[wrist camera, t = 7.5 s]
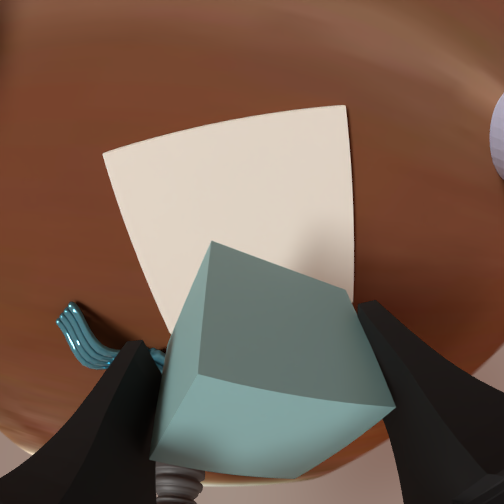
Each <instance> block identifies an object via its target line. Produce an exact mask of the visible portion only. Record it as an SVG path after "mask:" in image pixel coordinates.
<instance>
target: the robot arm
mask: <svg viewBox="0 0 504 504" xmlns="http://www.w3.org/2000/svg"><path fill="white" fill-rule="evenodd" d="M490 149H491V156H492V160H493V163H494V166H495V168H496V170H497V172H498V174H499V175H500V177H501V178H502V179H503V180H504V93H503V95H502V96H501V97H500V98H499V100H498V102H497V104H496V106H495V109H494V112H493V115H492V120H491V126H490ZM357 317H358V319H359V321H360V323H361V326H362V328H363V330H364V332H365V334H366V337H367V339H368V341H369V343H370V345H371V347H372V350H373V352H374V354H375V357H376V359H377V361H378V364H379V366H380V369H381V371H382V373H383V376H384V378H385V381H386V383H387V386H388V388H389V391H390V393H391V396H392V398H393V401H394V403H395V406H396V408H395V409H393V410H392V411H391V412H390V413H389V414H387V415H386V416H385V417H384V418H383V421H384V423H385V426H386V429H387V432H388V434H389V438H390V442H391V445H392V449H393V453H394V457H395V461H396V465H397V470H398V474H399V479H400V485H401V490H402V496H403V502H404V504H504V393H503V392H502V391H499V390H497V389H495V388H493V387H492V386H489V385H488V384H486V383H484V382H482V381H480V380H478V379H476V378H475V377H473V376H471V375H469V374H468V373H466V372H465V371H463V370H462V369H460V368H458V367H457V366H455V365H454V364H452V363H451V362H449V361H448V360H447V359H445V358H444V357H443V356H441V355H440V354H439V353H437V352H436V351H435V350H433V349H432V348H431V347H429V346H428V345H427V344H426V343H424V342H423V341H422V340H421V339H420V338H418V337H417V336H416V335H415V334H414V333H412V332H411V331H410V330H409V329H408V328H407V327H405V326H404V325H403V324H402V323H401V322H400V321H399V320H397V319H396V318H395V317H394V316H393V315H392V314H391V313H390V312H389V311H387V310H386V309H385V308H384V307H383V306H382V305H381V304H380V303H378V302H377V301H376V300H373V301H369V302H365V303H361V304H358V313H357ZM161 378H162V373H161V371H160V370H159V368H158V366H157V365H156V363H155V361H154V359H153V358H152V356H151V354H150V352H149V351H148V349H147V347H146V345H145V343H144V342H143V340H137V341H127V342H126V343H125V345H124V346H123V347H122V349H121V350H120V352H119V353H118V354H117V356H116V357H115V359H114V360H113V361H112V363H111V364H110V366H109V367H108V369H107V370H106V371H105V373H104V374H103V376H102V377H101V378H100V380H99V381H98V383H97V384H96V386H95V387H94V388H93V390H92V391H91V392H90V394H89V395H88V396H87V397H86V399H85V400H84V401H83V403H82V404H81V405H80V407H79V408H78V409H77V411H76V412H75V413H74V414H73V415H72V417H71V418H70V419H69V420H68V421H67V422H66V423H65V425H64V426H63V427H62V428H61V429H60V430H59V431H58V432H57V433H56V434H55V435H54V436H53V437H52V438H51V439H50V440H49V441H48V442H47V443H46V444H45V445H44V446H43V447H41V448H40V449H39V450H38V451H37V452H36V453H35V454H34V455H32V456H31V457H30V458H29V459H27V460H26V461H25V462H23V463H22V464H21V465H20V466H18V467H17V468H15V469H14V470H12V471H11V472H9V473H8V474H6V475H4V476H3V477H1V478H0V504H157V501H156V461H153V460H149V456H150V448H151V441H152V434H153V427H154V420H155V414H156V407H157V401H158V396H159V390H160V384H161Z"/></svg>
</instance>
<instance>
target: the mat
mask: <svg viewBox="0 0 504 504" xmlns="http://www.w3.org/2000/svg"><path fill="white" fill-rule="evenodd" d="M103 158H104V161H105V164H106V168H107V171H108V174H109V177H110V181H111V184H112V187H113V190H114V193H115V196H116V199H117V202H118V205H119V208H120V211H121V214H122V217H123V219H124V222H125V225H126V228H127V230H128V233H129V236H130V239H131V241H132V244H133V247H134V249H135V252H136V254H137V257H138V260H139V262H140V265H141V267H142V270H143V272H144V275H145V277H146V279H147V282H148V284H149V287H150V289H151V291H152V294H153V296H154V298H155V301H156V303H157V305H158V308H159V310H160V312H161V314H162V317H163V319H164V321H165V323H166V325H167V328H168V330H169V332H170V334H172V332H173V330H174V327H175V325H176V322H177V320H178V318H179V315H180V313H181V310H182V308H183V305H184V303H185V301H186V298H187V296H188V294H189V291H190V289H191V286H192V284H193V282H194V279H195V277H196V275H197V272H198V270H199V268H200V266H201V263H202V261H203V259H204V256H205V254H206V252H207V249H208V247H209V245H210V243H211V241H214V242H217V243H220V244H222V245H225V246H228V247H230V248H233V249H236V250H238V251H241V252H244V253H247V254H249V255H252V256H255V257H257V258H260V259H263V260H266V261H268V262H271V263H274V264H276V265H279V266H282V267H285V268H287V269H290V270H293V271H296V272H298V273H301V274H304V275H306V276H309V277H312V278H315V279H317V280H320V281H323V282H325V283H328V284H331V285H334V286H336V287H339V288H342V289H345V290H346V292H347V294H348V296H349V298H350V300H351V303H352V302H353V289H354V220H353V192H352V173H351V158H350V145H349V134H348V123H347V114H346V106H345V105H337V106H326V107H316V108H307V109H298V110H290V111H283V112H276V113H269V114H263V115H257V116H251V117H245V118H239V119H234V120H229V121H224V122H219V123H214V124H209V125H204V126H200V127H195V128H191V129H187V130H182V131H178V132H174V133H170V134H166V135H162V136H159V137H155V138H151V139H148V140H144V141H141V142H137V143H134V144H130V145H127V146H124V147H120V148H117V149H114V150H111V151H108V152H105V153H103Z"/></svg>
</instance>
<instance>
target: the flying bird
mask: <svg viewBox="0 0 504 504" xmlns="http://www.w3.org/2000/svg"><path fill="white" fill-rule="evenodd" d="M56 324H57V325H58V326H59V328H60V329H61V331H62V332H63V334H64V336H65V338H66V340H67V342H68V344H69V346H70V348H71V350H72V352H73V353H74V355H75V357H76V358H77V359H78V360H79V361H80V362H81V363H82V364H83V365H84V366H86V367H88V368H90V369H96V370H105V369H108V367H109V366H110V364H111V363H112V361H113V360H114V359H115V357H116V356H117V354H118V353H119V352H120V350H117V349H111V348H108V347H106V346H104V345H102V344H101V343H100V342H99V341H98V340H97V338H96V337H95V336H94V334H93V333H92V331H91V329H90V328H89V326H88V324H87V322H86V320H85V318H84V316H83V313H82V312H81V310H80V308H79V307H78V306H77V304H76V303H74V302H70V303H69V304H68V307H66V308H65V309H64V313H61V314H60V318H57V320H56ZM147 349H148V348H147ZM148 351H149V352H150V354H151V356H152V358H153V359H154V361H155V363H156V365H157V366H158V368H159V370H160V371H161V373H162V372H163V366H164V361H165V355H166V354H165V353H164V352H162V351H161V350H157V349H155V348H151V349H148Z"/></svg>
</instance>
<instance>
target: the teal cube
mask: <svg viewBox="0 0 504 504" xmlns="http://www.w3.org/2000/svg"><path fill="white" fill-rule="evenodd" d="M395 408H396V406H395V403H394V401H393V398H392V396H391V393H390V391H389V388H388V386H387V383H386V381H385V378H384V376H383V373H382V371H381V369H380V366H379V364H378V361H377V359H376V357H375V354H374V352H373V350H372V347H371V345H370V343H369V341H368V339H367V337H366V334H365V332H364V330H363V328H362V326H361V323H360V321H359V319H358V317H357V314H356V311H355V309H354V307H353V305H352V303H351V300H350V298H349V296H348V294H347V292H346V290H345V289H342V288H339V287H336V286H334V285H331V284H328V283H325V282H323V281H320V280H317V279H315V278H312V277H309V276H306V275H304V274H301V273H298V272H296V271H293V270H290V269H287V268H285V267H282V266H279V265H276V264H274V263H271V262H268V261H266V260H263V259H260V258H257V257H255V256H252V255H249V254H247V253H244V252H241V251H238V250H236V249H233V248H230V247H228V246H225V245H222V244H220V243H217V242H214V241H211V243H210V245H209V247H208V249H207V252H206V254H205V256H204V259H203V261H202V263H201V266H200V268H199V270H198V272H197V275H196V277H195V279H194V282H193V284H192V286H191V289H190V291H189V294H188V296H187V298H186V301H185V303H184V305H183V308H182V310H181V313H180V315H179V318H178V320H177V322H176V325H175V327H174V330H173V332H172V335H171V337H170V340H169V342H168V345H167V350H166V355H165V361H164V366H163V372H162V378H161V384H160V390H159V396H158V401H157V407H156V414H155V420H154V427H153V434H152V441H151V448H150V456H149V460H153V461H157V462H162V463H166V464H171V465H176V466H181V467H186V468H191V469H197V470H203V471H210V472H217V473H224V474H232V475H242V476H252V477H266V478H287V479H295V478H297V477H299V476H300V475H302V474H304V473H305V472H307V471H309V470H310V469H312V468H314V467H315V466H317V465H318V464H320V463H322V462H323V461H325V460H326V459H328V458H329V457H331V456H332V455H334V454H335V453H337V452H338V451H340V450H341V449H342V448H344V447H345V446H347V445H348V444H350V443H351V442H352V441H354V440H355V439H356V438H358V437H359V436H361V435H362V434H363V433H365V432H366V431H367V430H368V429H370V428H371V427H372V426H374V425H375V424H376V423H377V422H379V421H380V420H381V419H382V418H384V417H385V416H386V415H387V414H389V413H390V412H391V411H392V410H393V409H395Z"/></svg>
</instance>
